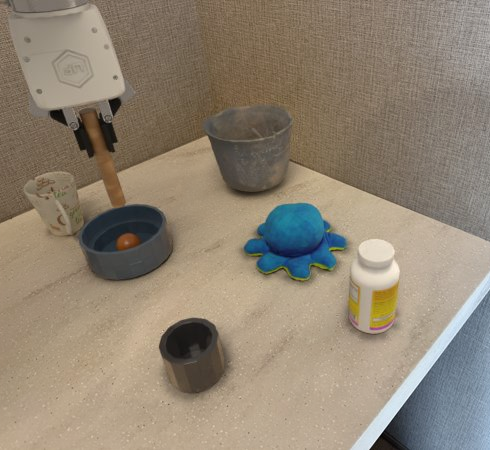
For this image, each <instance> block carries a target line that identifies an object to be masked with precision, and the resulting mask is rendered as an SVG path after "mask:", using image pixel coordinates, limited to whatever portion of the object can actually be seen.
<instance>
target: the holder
mask: <svg viewBox="0 0 490 450" xmlns="http://www.w3.org/2000/svg"><path fill="white" fill-rule="evenodd" d="M222 348H223V347H222V343H221V338H220V334H219V331H218V329H217V327H216V324H214V323H213V322H211V321H210V320H208V319H206V318H202V317H188V318H184V319H180V320H179V321H177V322H175V323H174V324H172V325H170V326H168V327H167V329H166V330H165V331H164V333H163V334H162V335H161V336H160V340H159V343H158V350H159V354H160V356H161V359H162V361H163V365H164V367H165V370H166V372H167V376H168V378H169V382H170V383H171V385H172V387H173V388H175V389H176V390H177V391H178V392H181V393H184V394H199V393H202V392H205V391H208V390H210V389H211V388H212V387H213V386H214V385H216V384H217V383H218V382H219V380H220V379H221V377H222V376H223V374H224V371H225V357H224V353H223V351H224V350H223V349H222Z"/></svg>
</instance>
